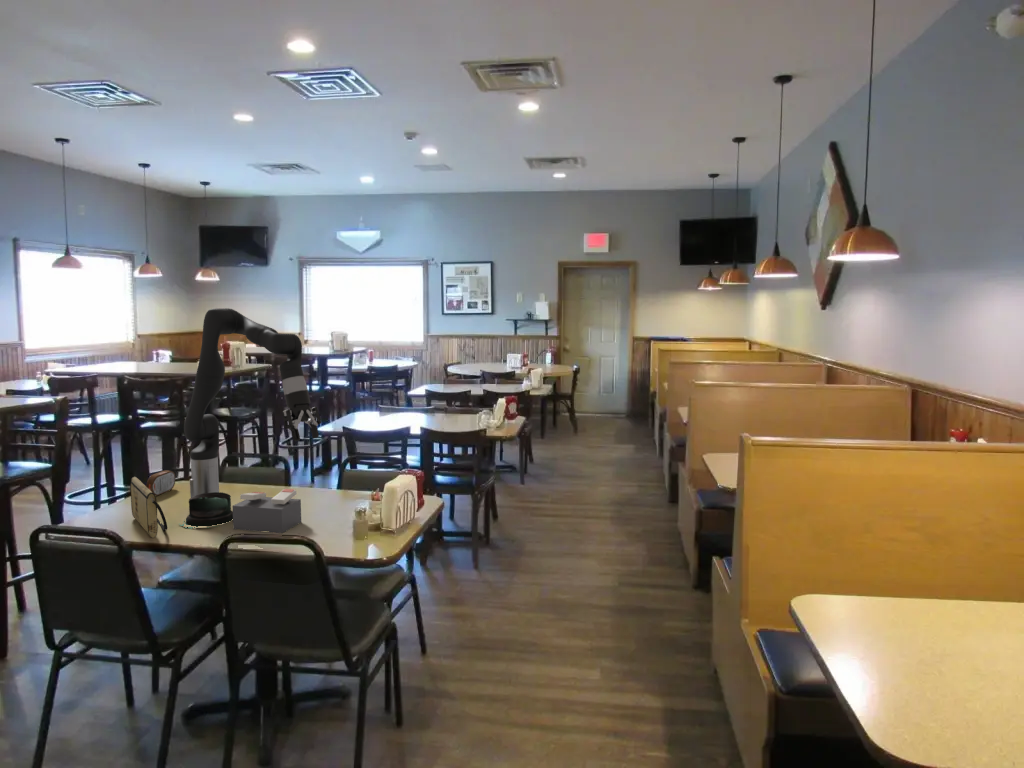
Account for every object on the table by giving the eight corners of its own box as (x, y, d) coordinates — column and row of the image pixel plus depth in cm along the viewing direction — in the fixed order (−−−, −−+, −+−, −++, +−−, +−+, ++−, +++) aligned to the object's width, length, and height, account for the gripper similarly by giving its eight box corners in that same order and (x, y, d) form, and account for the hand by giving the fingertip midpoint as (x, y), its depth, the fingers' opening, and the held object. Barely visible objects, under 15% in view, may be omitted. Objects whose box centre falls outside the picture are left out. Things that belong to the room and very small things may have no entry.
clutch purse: (173, 536, 222) (171, 490, 221) (149, 540, 218) (147, 494, 216) (152, 514, 245) (150, 472, 244) (130, 517, 241) (128, 475, 239)
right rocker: (284, 493, 236) (283, 488, 236) (296, 494, 235) (295, 489, 235) (271, 503, 229) (271, 498, 228) (284, 504, 228) (283, 499, 227)
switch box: (254, 518, 241) (253, 494, 240) (301, 522, 237) (300, 497, 236) (233, 529, 229) (232, 503, 228) (282, 533, 225) (281, 507, 224)
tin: (170, 488, 280) (169, 467, 279) (177, 488, 280) (176, 468, 279) (145, 498, 266) (144, 476, 265) (153, 498, 265) (152, 477, 264)
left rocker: (254, 496, 237) (254, 491, 237) (265, 497, 236) (266, 492, 236) (240, 499, 229) (240, 493, 229) (252, 500, 228) (252, 494, 228)
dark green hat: (234, 509, 253) (233, 484, 251) (248, 523, 236) (247, 496, 235) (174, 518, 241) (173, 492, 240) (185, 533, 225) (183, 506, 224)
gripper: (303, 393, 237) (313, 439, 236) (271, 395, 224) (282, 444, 223) (319, 388, 234) (329, 434, 232) (288, 390, 221) (299, 439, 220)
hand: (306, 439), depth 228 cm, fingers open, 8 cm apart
